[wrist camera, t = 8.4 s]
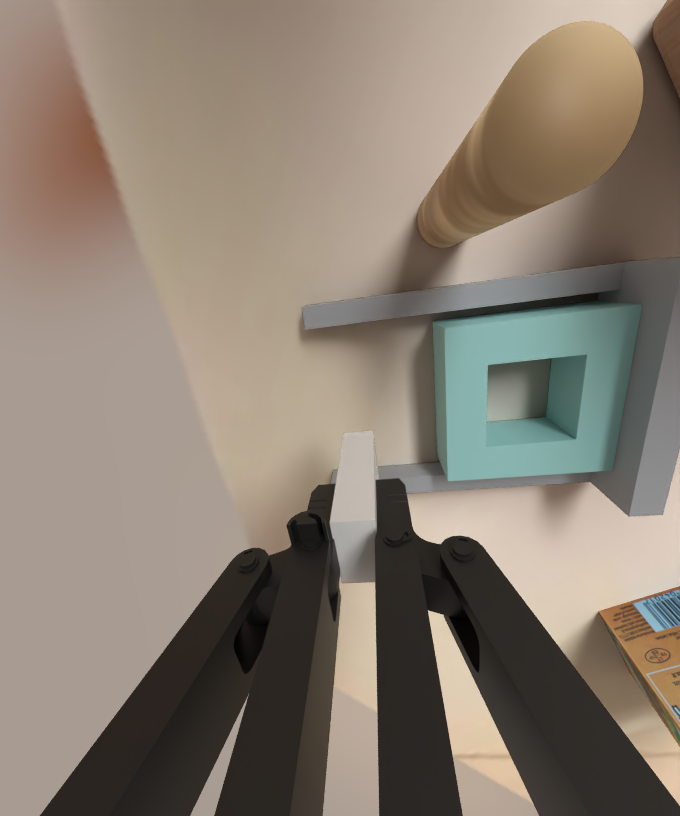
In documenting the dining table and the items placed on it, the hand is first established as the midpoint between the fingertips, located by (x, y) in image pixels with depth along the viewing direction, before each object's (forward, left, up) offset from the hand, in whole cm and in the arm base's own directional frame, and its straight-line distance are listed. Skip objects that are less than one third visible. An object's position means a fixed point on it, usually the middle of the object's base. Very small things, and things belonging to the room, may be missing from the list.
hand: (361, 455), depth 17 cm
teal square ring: (0, +11, -10) cm, 15 cm away
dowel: (-12, +7, -10) cm, 17 cm away
